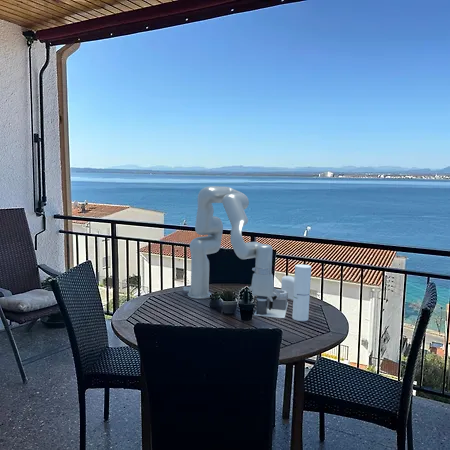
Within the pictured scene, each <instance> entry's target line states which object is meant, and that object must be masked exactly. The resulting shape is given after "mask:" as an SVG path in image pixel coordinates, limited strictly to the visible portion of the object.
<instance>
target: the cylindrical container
mask: <svg viewBox="0 0 450 450" xmlns="http://www.w3.org/2000/svg"><path fill="white" fill-rule="evenodd" d="M293 277H294V296H293V300H292V301H293V302H292V317H291V318H292V320H294V321H297V322H307V321H308V320H309V313H310V295H311V277H312V266H311V265H309V264H302V263H300V264H295V265H294V276H293Z"/></svg>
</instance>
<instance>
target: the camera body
mask: <svg viewBox="0 0 450 450" xmlns="http://www.w3.org/2000/svg"><path fill="white" fill-rule="evenodd" d="M275 289H276V290H277V291H279V292H280V295H279V296H278V297H277V298H276V299H275V300H274V301H273V308H271V309H278V310H286V306H287V302H289V301H288V300H289V299H288V293H287V292H286V291H285V290H281V289H279V288H275ZM275 295H276V293H275V292H273V295H272V296H273V297H274V296H275ZM269 302H270V299H269V297H268V300H267V308H268V309H269ZM287 307H288V306H287ZM286 311H287V310H286Z"/></svg>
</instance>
